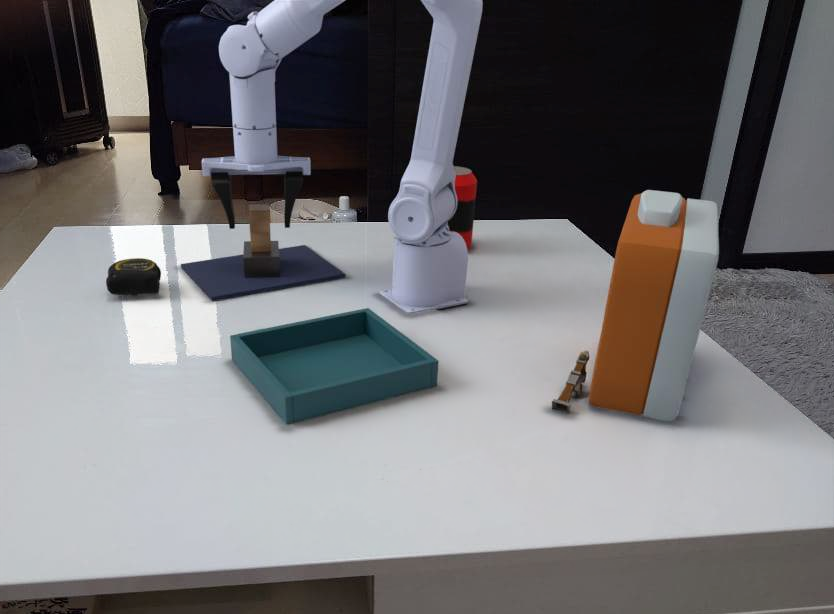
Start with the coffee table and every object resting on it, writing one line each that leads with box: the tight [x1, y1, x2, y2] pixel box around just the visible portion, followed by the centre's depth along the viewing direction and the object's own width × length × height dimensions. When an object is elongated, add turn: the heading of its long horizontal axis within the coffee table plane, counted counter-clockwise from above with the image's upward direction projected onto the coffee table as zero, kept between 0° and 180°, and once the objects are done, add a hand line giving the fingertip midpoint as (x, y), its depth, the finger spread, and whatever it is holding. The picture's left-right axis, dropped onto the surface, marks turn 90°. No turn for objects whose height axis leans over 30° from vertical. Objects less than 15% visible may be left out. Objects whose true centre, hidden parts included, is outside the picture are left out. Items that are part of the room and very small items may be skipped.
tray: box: [229, 307, 440, 425], centre depth 85 cm, size 18×16×4 cm
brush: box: [242, 203, 280, 278], centre depth 110 cm, size 5×7×9 cm
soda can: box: [447, 165, 478, 251], centre depth 121 cm, size 8×8×12 cm
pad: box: [180, 244, 346, 302], centre depth 112 cm, size 20×14×1 cm
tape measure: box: [105, 257, 162, 297], centre depth 105 cm, size 7×7×4 cm
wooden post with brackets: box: [551, 350, 590, 413], centre depth 81 cm, size 2×8×4 cm, turn 149°
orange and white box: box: [588, 189, 720, 422], centre depth 81 cm, size 18×9×21 cm, turn 159°
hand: (259, 226), depth 109 cm, fingers open, 7 cm apart
